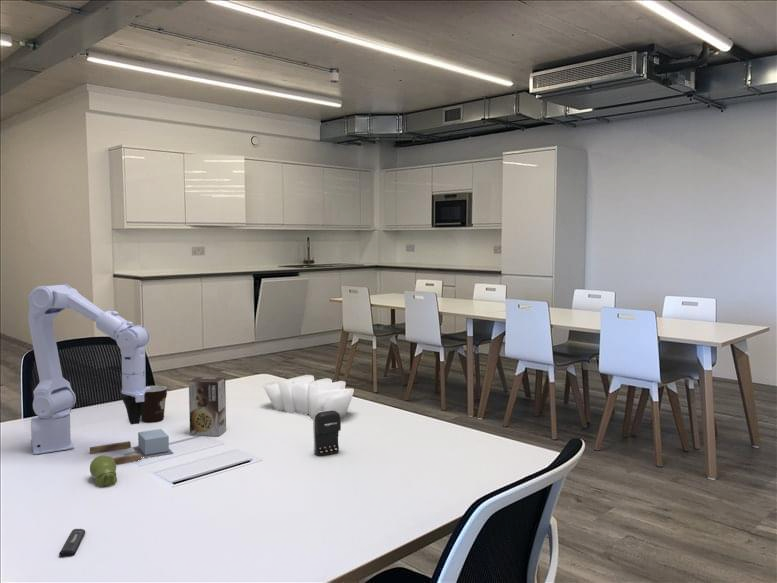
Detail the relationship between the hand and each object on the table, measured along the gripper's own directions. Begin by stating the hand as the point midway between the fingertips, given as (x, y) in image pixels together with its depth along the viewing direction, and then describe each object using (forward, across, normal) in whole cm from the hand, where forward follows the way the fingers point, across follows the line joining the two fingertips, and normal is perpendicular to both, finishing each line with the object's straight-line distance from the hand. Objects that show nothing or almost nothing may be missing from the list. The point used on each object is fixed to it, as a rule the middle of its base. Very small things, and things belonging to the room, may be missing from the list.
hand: (134, 423), depth 165 cm
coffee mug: (+8, +31, -13) cm, 35 cm away
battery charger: (+8, -27, -43) cm, 51 cm away
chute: (+8, 0, +5) cm, 9 cm away
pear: (+8, -16, +10) cm, 21 cm away
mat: (+8, 0, -4) cm, 9 cm away
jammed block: (+8, 0, -5) cm, 9 cm away
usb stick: (+9, -47, +21) cm, 52 cm away
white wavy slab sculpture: (+8, +13, -58) cm, 60 cm away
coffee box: (+8, +8, -22) cm, 25 cm away
